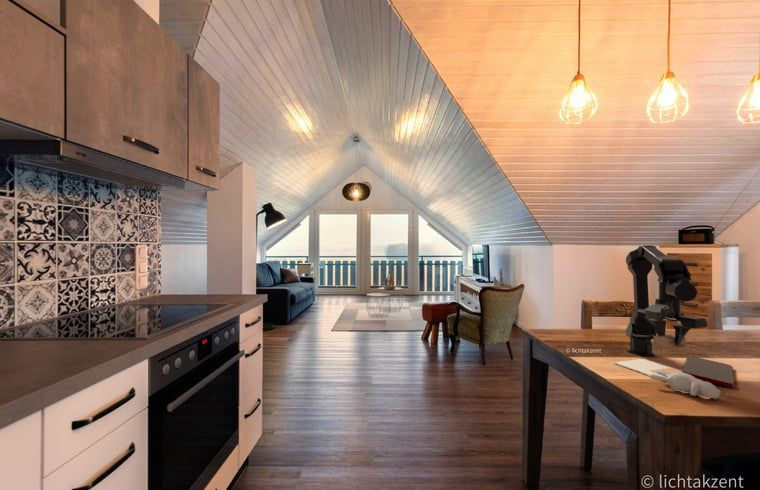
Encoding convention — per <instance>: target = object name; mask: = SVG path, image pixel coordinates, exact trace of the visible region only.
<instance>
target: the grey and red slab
mask: <svg viewBox="0 0 760 490" xmlns="http://www.w3.org/2000/svg"><path fill="white" fill-rule="evenodd" d="M681 371H683V373H686V374H689V375H692V376H693V377H694V378H696V379H699V380H702V381H704V382H709V383H711V384H713V385H714V384H715V385H719V386H722V387H728V388H729V387H730V388H733V387H734V383H735V380H734V377H733V373H734V366H733V365H730V364H728V363H724V362H721V361H720V362H719V361H714V360H710V359H705V358H701V357H696V356H690V355H688V356H686V359H685V362H684V364H683V367H682V369H681Z"/></svg>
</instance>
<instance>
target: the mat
mask: <svg viewBox="0 0 760 490" xmlns="http://www.w3.org/2000/svg"><path fill="white" fill-rule="evenodd" d="M613 364H614V365H616V364H617V365H616V366H618V365H620V366H619V367H621V366H624V367H627V368H630V369H633V370H636V371H639V372H642V373H644V374H647V375H650V376H651V374H656V375H660V374H657V370H662V371H665V372H667V373H668V374H671V373H675V372H683V371H682V369H681V370H679V369H677V368H674V367H671V366H668V365H664V364H661V363H659V362H655V361H651V360H648V359H645V358H640V359H631V360H623V361H622V360H621V361H614V362H613ZM624 367H623V368H624ZM627 368H626V369H627ZM630 369H629V370H630ZM644 374H643V375H644ZM660 376H662V375H660ZM664 377H665V376H664Z"/></svg>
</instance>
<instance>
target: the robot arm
mask: <svg viewBox="0 0 760 490" xmlns="http://www.w3.org/2000/svg"><path fill="white" fill-rule="evenodd" d="M625 263H626V264H627V270H628V271H629V272H630V273H631V275H632V281H633V282H632V284H633V303H634V304H633V305H634V307H633V308H634V311H633V313H632V315H631V316H630V318H629V323H628V325H627V327H626V329H625V335H626V336H627V337H628V338H629V349H627V350H626V351H627V352H629V353H631V354H635V355H638V356H643V357H645V356H654V355H655V353H654V352H653V343H652V340H654V336H659V335H666V330H667V321H672V322H676V323H677V324H673V325H672V327H673V328H674V335H675V345H677V346H678V345H680V343H681V341H682V340H683V338H684V337H685V338H686V335H687V334H688V332H689V331H690V330H691V329H704V328H708V321H707V319H706V318H705V317H699V316H695V315H689V316H688V315H687V316H685V313H684V312H682V304H684V303H685V302H690V301H693V300H694V299H695V298H696V297H697V295H698V290H697V288H696V287H695V286H694V285H693V284H692V283H690V281H692V278H691V277H692V274H691V272H690V271H689V269H688V267H687V264H686V263H685V261H684V260H683V259H681V258H679V257H672V256H669V255H666V254H665V253H663V252H662V251H661V250H660V249H658V248H657V246H655V245H648V244H647V245H639V246H638V247H637V248H636V249H634V250H632V251H629V252H628V254H627V256H626V257H625ZM652 270H654V272H655V274H656V275H657V277H658V278H657V282H658V298H655V301H654V302H655V303H654V304H651V305H650V301H649V299H650V298H649V279H648V277H649V274H650V273H651V271H652Z"/></svg>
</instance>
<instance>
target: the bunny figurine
mask: <svg viewBox="0 0 760 490" xmlns="http://www.w3.org/2000/svg"><path fill="white" fill-rule="evenodd" d="M657 374H660V375H662V376H660V375H656V374H651V376H650V377H649V378H650V379H652V380H655V381H658V382H659V381H660V382H665V383H666V382H667V383H668V385H669V386H670V388H671V390H673V389H675V390H679V391H684V392H689V393H690V394H689V395H690V396H694V397H696V395H697V394H698V395H701V396H705V397H710V398H713V400H714V399H715V400H717V399H718V398H719V397H721V392H722V391H721V390H720V389H718V388H717V387H716V386H715V385H714V383H710V382H706V381H702V380H699V379H696V378H694V377H693V376H692V375H689V374H686V373H683V372H675V373H671V374H668V373H667V372H665V371H662V370H657ZM664 376H665V377H664Z"/></svg>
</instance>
